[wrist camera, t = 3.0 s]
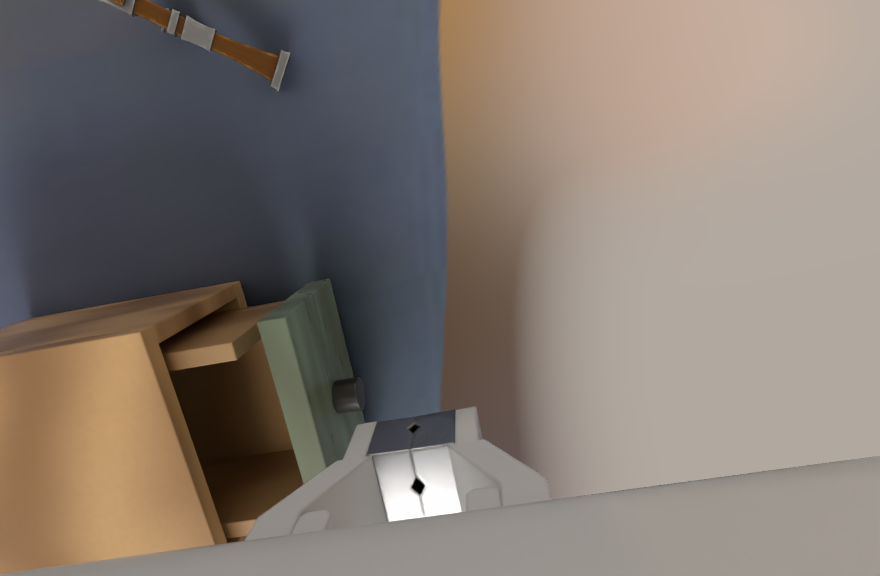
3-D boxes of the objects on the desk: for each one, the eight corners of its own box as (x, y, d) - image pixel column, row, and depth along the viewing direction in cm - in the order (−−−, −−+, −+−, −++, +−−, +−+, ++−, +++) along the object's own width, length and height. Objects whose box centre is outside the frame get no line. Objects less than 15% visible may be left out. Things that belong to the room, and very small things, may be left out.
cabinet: (240, 280, 26) (139, 331, 18) (293, 463, 29) (228, 582, 20) (30, 317, 27) (-160, 383, 19) (101, 491, 30) (-38, 617, 21)
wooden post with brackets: (109, -27, 22) (79, -50, 18) (284, 56, 25) (290, 52, 21) (101, 13, 22) (69, 0, 18) (274, 89, 26) (278, 91, 22)
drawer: (352, 274, 25) (315, 311, 18) (392, 447, 27) (372, 536, 21) (126, 314, 26) (13, 363, 19) (184, 478, 28) (102, 572, 22)
